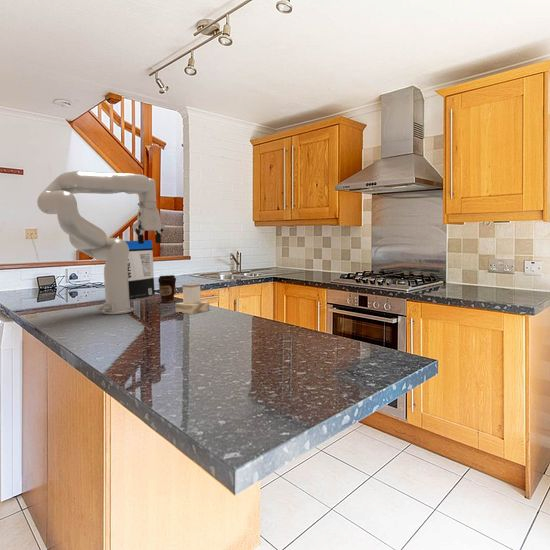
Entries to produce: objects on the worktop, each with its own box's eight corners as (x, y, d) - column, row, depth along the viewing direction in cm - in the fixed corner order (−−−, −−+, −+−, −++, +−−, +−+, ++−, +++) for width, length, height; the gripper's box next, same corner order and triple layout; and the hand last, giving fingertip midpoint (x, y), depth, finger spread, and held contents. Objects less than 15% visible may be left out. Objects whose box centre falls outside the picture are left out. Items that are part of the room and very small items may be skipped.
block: (191, 315, 169) (191, 305, 169) (175, 312, 175) (175, 303, 175) (209, 311, 177) (209, 302, 177) (193, 309, 183) (193, 300, 183)
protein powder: (160, 294, 229) (157, 240, 226) (123, 301, 208) (120, 241, 205) (148, 293, 234) (146, 240, 231) (111, 299, 213) (108, 241, 210)
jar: (192, 304, 172) (191, 285, 171) (183, 303, 175) (182, 284, 174) (201, 302, 177) (200, 284, 176) (191, 301, 179) (191, 283, 179)
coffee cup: (172, 303, 197) (170, 276, 196) (155, 303, 199) (154, 276, 198) (179, 300, 206) (178, 274, 204) (164, 300, 207) (163, 274, 206)
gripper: (137, 204, 180) (139, 243, 182) (168, 206, 194) (169, 242, 196) (126, 205, 184) (128, 244, 186) (157, 207, 199) (159, 242, 200)
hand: (149, 243), depth 191 cm, fingers open, 9 cm apart
